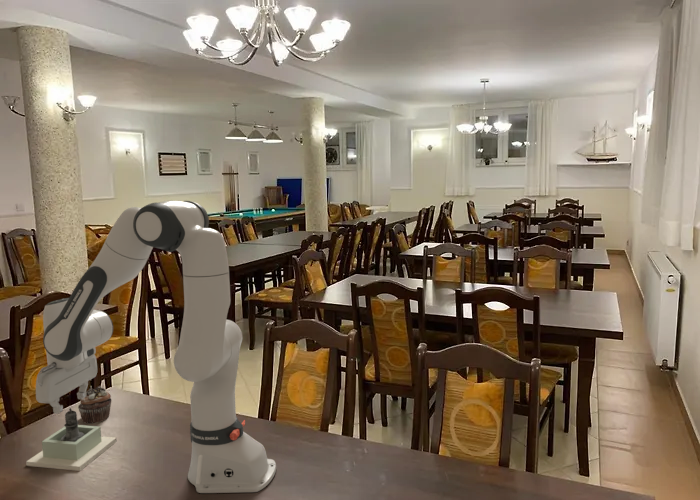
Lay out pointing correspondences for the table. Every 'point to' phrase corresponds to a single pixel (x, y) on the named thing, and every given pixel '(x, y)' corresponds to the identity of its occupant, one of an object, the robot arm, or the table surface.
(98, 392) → the cupcake
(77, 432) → the dark chess piece
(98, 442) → the stand
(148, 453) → the table surface
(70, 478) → the table surface
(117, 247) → the robot arm
